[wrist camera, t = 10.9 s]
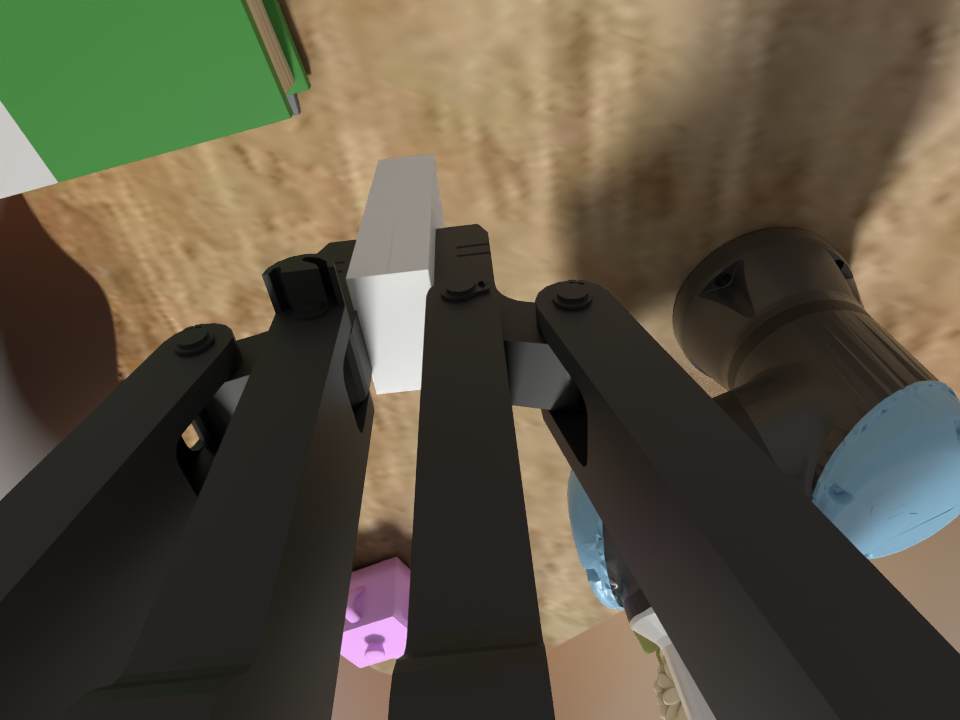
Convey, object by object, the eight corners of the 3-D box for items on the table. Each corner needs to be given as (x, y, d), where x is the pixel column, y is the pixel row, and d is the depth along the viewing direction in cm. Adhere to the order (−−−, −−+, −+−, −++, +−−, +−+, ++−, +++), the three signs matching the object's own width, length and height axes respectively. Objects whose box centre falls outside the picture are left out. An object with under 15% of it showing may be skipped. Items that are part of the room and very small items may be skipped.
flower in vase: (692, 523, 75) (784, 747, 55) (612, 558, 79) (672, 780, 59) (645, 469, 68) (731, 703, 48) (560, 511, 72) (608, 744, 52)
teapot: (345, 620, 84) (335, 697, 76) (283, 572, 76) (265, 652, 68) (458, 583, 80) (461, 659, 72) (406, 528, 72) (402, 607, 64)
